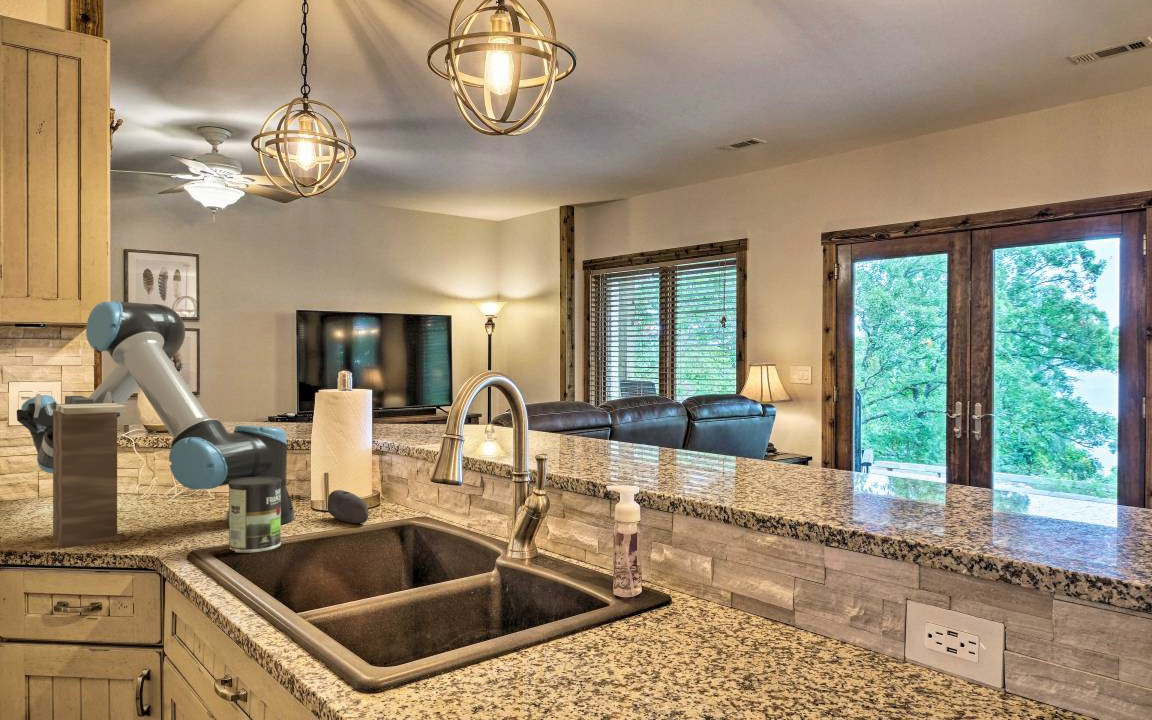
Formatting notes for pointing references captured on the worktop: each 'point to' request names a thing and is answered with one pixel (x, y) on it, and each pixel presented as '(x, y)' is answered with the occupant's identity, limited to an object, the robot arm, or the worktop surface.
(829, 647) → the worktop surface
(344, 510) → the dark grey stone
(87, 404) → the lid
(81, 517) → the upright wooden block
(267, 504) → the coffee can
